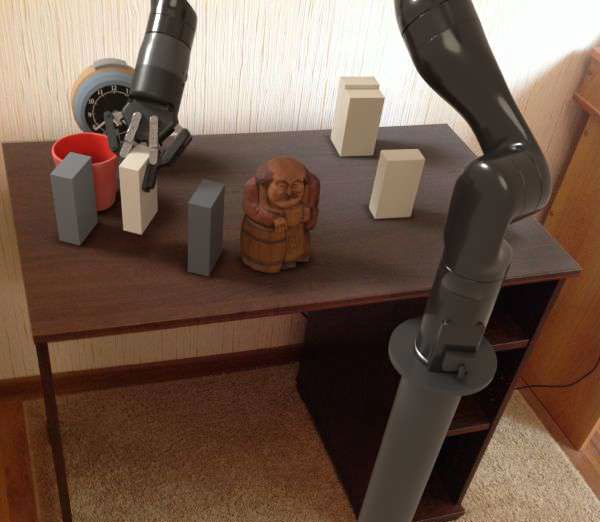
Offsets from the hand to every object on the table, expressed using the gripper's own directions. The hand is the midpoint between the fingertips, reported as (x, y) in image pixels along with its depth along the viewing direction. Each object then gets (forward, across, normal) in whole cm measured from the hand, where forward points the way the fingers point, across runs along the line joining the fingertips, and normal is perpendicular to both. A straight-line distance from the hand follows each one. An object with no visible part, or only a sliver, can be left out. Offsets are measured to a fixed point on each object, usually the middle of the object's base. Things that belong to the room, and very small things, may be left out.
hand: (134, 187), depth 112 cm
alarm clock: (-10, -14, +27) cm, 32 cm away
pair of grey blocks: (+7, 0, +10) cm, 12 cm away
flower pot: (+1, -13, +16) cm, 21 cm away
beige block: (+4, 0, +6) cm, 7 cm away
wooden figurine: (+4, +21, +13) cm, 25 cm away
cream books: (-19, +31, +36) cm, 52 cm away
